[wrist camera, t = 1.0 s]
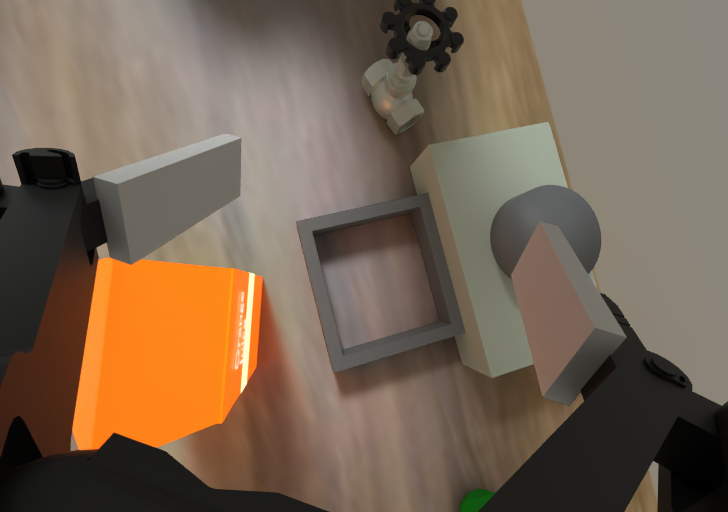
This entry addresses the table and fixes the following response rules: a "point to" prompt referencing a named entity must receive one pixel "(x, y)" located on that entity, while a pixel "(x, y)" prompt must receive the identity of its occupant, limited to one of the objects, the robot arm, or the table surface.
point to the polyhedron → (475, 500)
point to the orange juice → (165, 350)
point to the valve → (409, 60)
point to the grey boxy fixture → (469, 243)
